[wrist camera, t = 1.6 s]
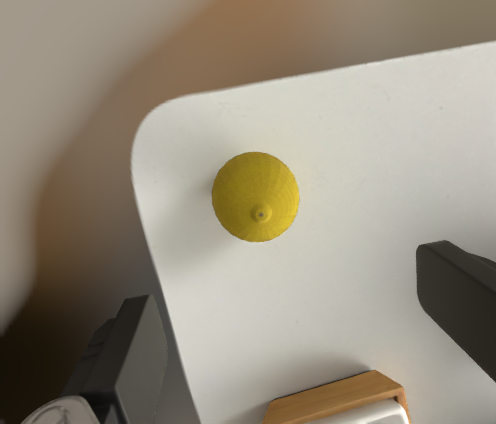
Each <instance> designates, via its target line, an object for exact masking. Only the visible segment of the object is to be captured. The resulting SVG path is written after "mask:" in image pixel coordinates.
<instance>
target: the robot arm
mask: <svg viewBox="0 0 496 424" xmlns="http://www.w3.org/2000/svg"><path fill="white" fill-rule="evenodd" d="M416 273H417V295H418V299H419V302H420V304H421V306H422V308H423V310H424V311H425V312H426V313H427V314H428V315H429V316H430V317H431V318H432V319H433V320H434V321H435V322H436V323H437V324H438V325H439V326H440V327H441V328H442V329H443V330H444V331H445V332H446V333H447V334H448V335H449V336H450V337H451V338H452V339H453V340H454V341H455V342H456V343H457V344H458V345H459V346H460V347H461V348H462V349H463V350H464V351H465V352H466V353H467V354H468V355H469V356H470V357H471V358H472V359H473V360H474V361H475V362H476V363H477V364H478V365H479V366H480V367H481V368H482V369H483V370H484V371H485V372H486V373H487V374H488V375H489V376H490V377H491V378H492V379H493V380H494V381H495V382H496V263H495V262H493V261H491V260H489V259H487V258H484V257H481V256H478V255H474V254H471V253H468V252H466V251H464V250H463V249H461V248H459V247H457V246H456V245H454V244H452V243H451V242H449V241H446V240H443V241H438V242H432V243H427V244H421V245H419V246H418V248H417V251H416ZM167 357H168V350H167V341H166V337H165V333H164V330H163V326H162V322H161V319H160V316H159V312H158V308H157V305H156V301H155V298H154V296H153V295H152V294H150V295H144V296H139V297H133V298H128V299H125V301H124V302H123V304H122V306H121V308H120V310H119V312H118V314H117V316H116V318H112V319H108V321H106V322H105V323H104V324H103V325H102V326H101V327H100V328H99V329H98V330H97V331H96V332H95V333H94V335H93V337H92V339H91V341H90V342H89V344H88V348H86V350H85V352H84V354H83V355H82V359H80V361H79V362H78V364H77V366H76V368H75V370H74V372H73V373H72V375H71V377H70V379H69V381H68V382H67V384H66V386H65V388H64V390H63V391H62V393H61V395H60V397H59V399H56V400H53V401H51V402H49V403H47V404H45V405H43V406H42V407H40V408H39V409H37V410H36V411H35V412H33V413H32V414H31V415H30V416H29V417H27V418H26V419H25V420H24V421H23V422H22V423H21V424H154V422H155V417H156V412H157V407H158V402H159V397H160V393H161V388H162V383H163V378H164V373H165V368H166V364H167Z"/></svg>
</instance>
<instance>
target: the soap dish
mask: <svg viewBox="0 0 496 424" xmlns="http://www.w3.org/2000/svg"><path fill="white" fill-rule="evenodd" d="M262 424H411V421H410V416H409V412H408V407H407V401H406V397H405V392H404V389H403V387H402V386H401V385H400V384H398V383H397V382H395V381H393V380H392V379H390V378H388V377H387V376H385V375H383V374H382V373H380V372H378V371H376V370H373V371H367V372H366V373H363V374H360V375H356V376H353V377H350V378H347V379H343V380H340V381H337V382H333V383H330V384H327V385H323V386H320V387H317V388H314V389H310V390H307V391H304V392H300V393H297V394H294V395H291V396H287V397H284V398H277V399H275V400H274V401H272V402H270V404H269V407H268V409H267V411H266V414H265V416H264V419H263V421H262Z"/></svg>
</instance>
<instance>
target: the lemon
mask: <svg viewBox="0 0 496 424" xmlns="http://www.w3.org/2000/svg"><path fill="white" fill-rule="evenodd" d="M212 205H213V208H214V211H215V214H216V216H217V218H218V220H219V221H220V223H221V224H222V226H223V227H224V228H225V229H226V230H227V231H229V232H230V233H231V234H232V235H234V236H236V237H238V238H239V239H241V240H245V241H249V242H264V241H268V240H271V239H274V238H276V237H278V236H280V235H281V234H282V233H283V232H284V231H286V230H287V229H288V227H289V226H290V225H291V224H292V222H293V221H294V218H295V216H296V214H297V211H298V205H299V191H298V185H297V183H296V180H295V177H294V175H293V174H292V172H291V171H290V170H289V168H288V167H287V166H286V165H285V164H284V163H283V162H281V161H280V160H279V159H278V158H276V157H274V156H271V155H269V154H267V153H261V152H248V153H243V154H241V155H238V156H235V157H234V158H232V159H231V160H229V161H228V162H226V164H225V165H224V166H223V167H222V168H221V169H220V170H219V172H218V174H217V176H216V178H215V180H214V184H213V189H212Z"/></svg>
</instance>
